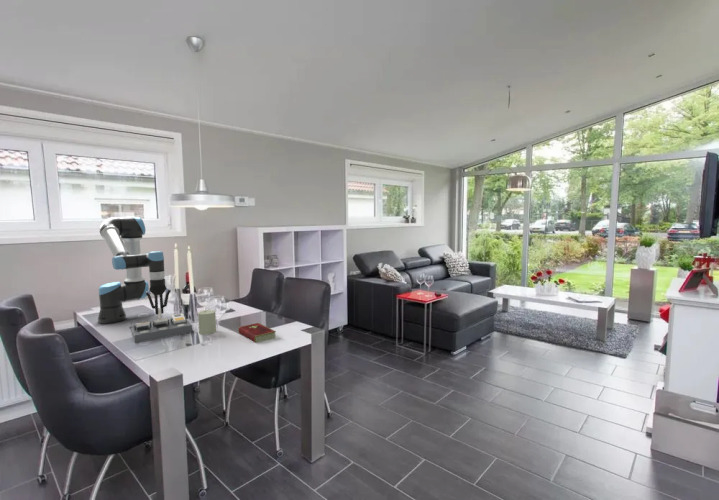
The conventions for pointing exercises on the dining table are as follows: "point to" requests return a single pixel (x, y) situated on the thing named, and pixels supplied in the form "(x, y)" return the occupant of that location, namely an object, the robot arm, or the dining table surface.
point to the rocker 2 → (178, 318)
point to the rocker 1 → (143, 324)
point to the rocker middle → (160, 321)
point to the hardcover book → (257, 332)
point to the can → (207, 322)
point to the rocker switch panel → (160, 330)
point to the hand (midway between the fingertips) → (159, 319)
